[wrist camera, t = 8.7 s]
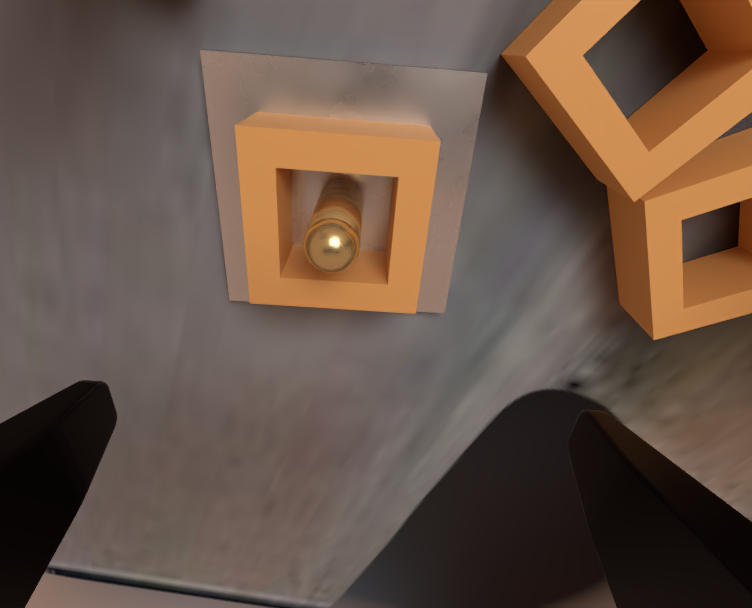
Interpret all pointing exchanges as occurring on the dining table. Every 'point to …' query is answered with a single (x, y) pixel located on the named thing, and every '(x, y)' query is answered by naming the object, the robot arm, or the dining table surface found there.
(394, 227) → the end link
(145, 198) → the dining table surface
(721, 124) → the chain link
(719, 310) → the chain link
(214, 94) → the plate with brass peg
